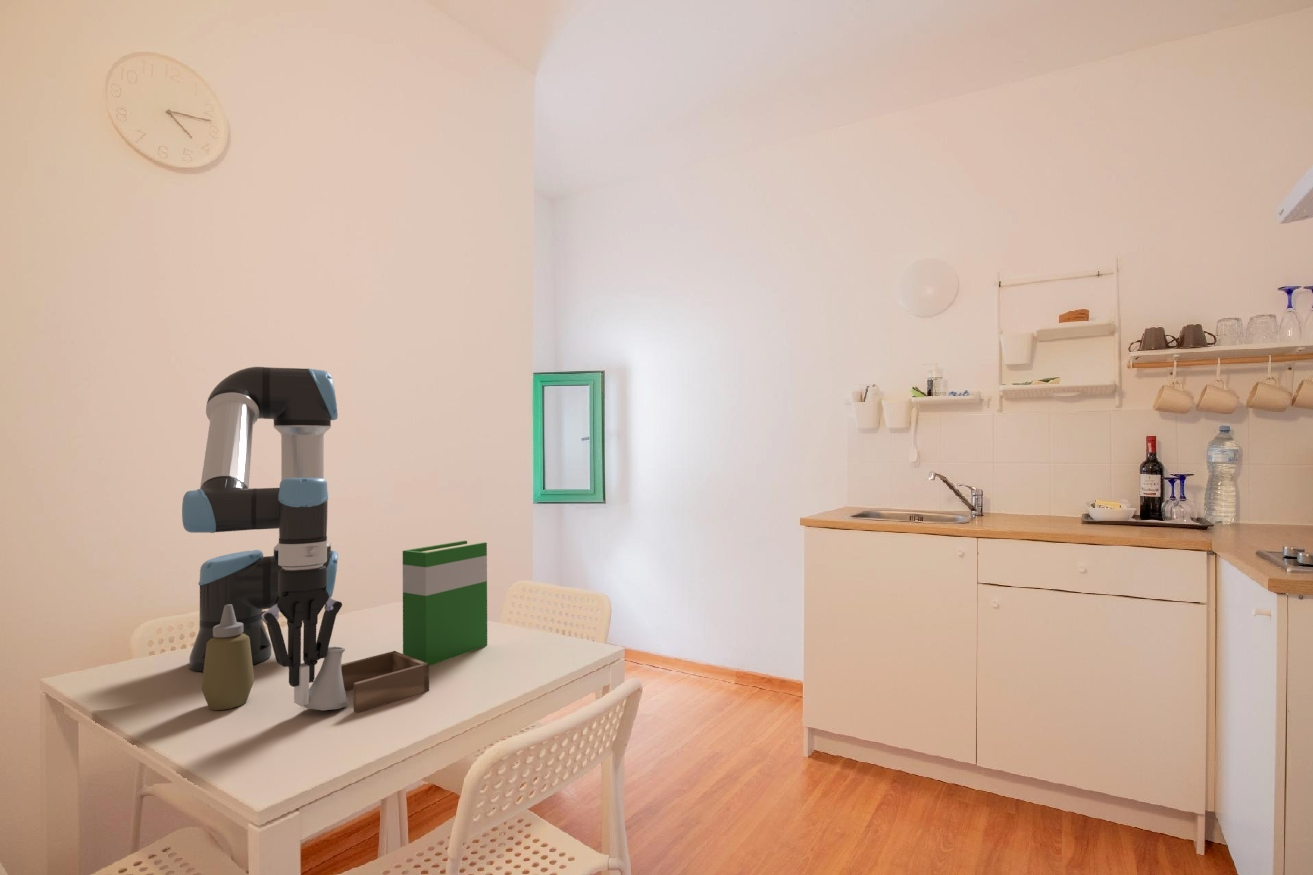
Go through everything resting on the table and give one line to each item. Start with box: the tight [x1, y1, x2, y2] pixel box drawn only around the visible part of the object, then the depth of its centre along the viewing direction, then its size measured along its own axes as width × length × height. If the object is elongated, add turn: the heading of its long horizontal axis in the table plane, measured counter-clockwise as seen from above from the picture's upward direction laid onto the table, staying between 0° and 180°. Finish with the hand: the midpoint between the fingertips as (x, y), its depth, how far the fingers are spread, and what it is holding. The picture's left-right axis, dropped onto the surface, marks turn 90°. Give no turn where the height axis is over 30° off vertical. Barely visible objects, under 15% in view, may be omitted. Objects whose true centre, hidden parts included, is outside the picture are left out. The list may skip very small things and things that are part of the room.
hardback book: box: [402, 540, 488, 667], centre depth 150 cm, size 18×7×24 cm, turn 149°
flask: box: [302, 646, 349, 711], centre depth 118 cm, size 7×7×10 cm
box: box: [341, 650, 430, 714], centre depth 125 cm, size 13×14×5 cm
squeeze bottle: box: [200, 604, 255, 711], centre depth 120 cm, size 8×8×18 cm
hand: (301, 702), depth 115 cm, fingers closed
